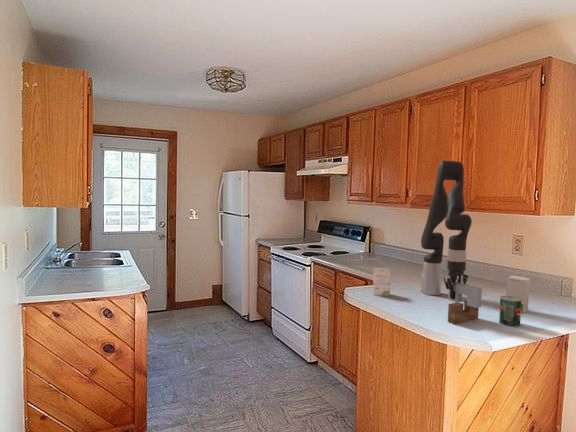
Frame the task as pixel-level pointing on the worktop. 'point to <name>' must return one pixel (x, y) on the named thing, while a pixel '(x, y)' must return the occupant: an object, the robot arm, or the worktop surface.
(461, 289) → the grey tall rectangular block
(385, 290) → the ink box
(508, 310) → the canned tomato
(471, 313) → the wooden u-shaped brace
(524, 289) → the skincare box
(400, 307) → the worktop surface
